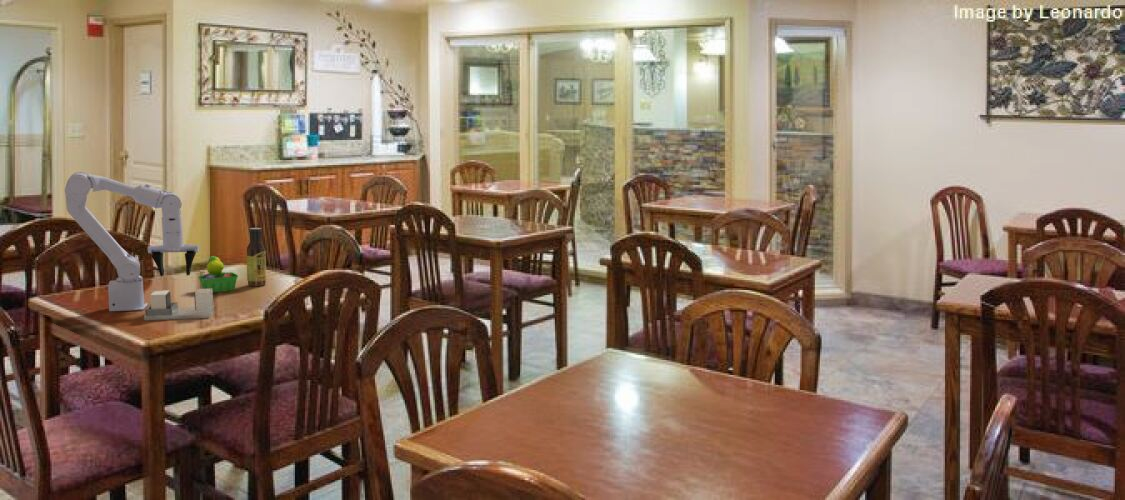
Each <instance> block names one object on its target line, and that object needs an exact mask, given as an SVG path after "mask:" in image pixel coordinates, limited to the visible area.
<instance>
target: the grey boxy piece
mask: <svg viewBox="0 0 1125 500" xmlns="http://www.w3.org/2000/svg"><path fill="white" fill-rule="evenodd" d="M213 293H214V292H213V289H203V288H198V289H197V290H196V291H195V292H194V306H191V307H185V306H184V307H178V302H177V301H175V302H171V308H170V309H151V303H150V304H149V305H148V307H147V308H146V309H145V310H144V312H145V315H143V321H162V320H163V321H164V320H188V319H189V320H190V319H195V320H196V319H210V318H211V317H212V316H213V314H214V312H215V311H216V310H215V306H214V294H213Z"/></svg>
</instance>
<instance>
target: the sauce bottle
mask: <svg viewBox="0 0 1125 500" xmlns="http://www.w3.org/2000/svg"><path fill="white" fill-rule="evenodd" d="M248 231H249V241H250V242H249V243H248V244H247V247H246V277H247V278H246V281H247V285H248V286H249V287H262V286H265V285H266V284H267V260H266V259H267V257H266V255H267V254H266V252H267V251H266V249H265V246H264V244H263V241H262V231H263V230H262V228H261V227H250V228H249V229H248Z"/></svg>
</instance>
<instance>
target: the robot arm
mask: <svg viewBox="0 0 1125 500" xmlns="http://www.w3.org/2000/svg"><path fill="white" fill-rule="evenodd" d="M91 189H92V192H93V193H94V192H99V191H108V192H111V193H115V194H119V195H124V196H127V197H132V199H133V200H134V202H135V203H137V204H140V205H142V206H143V205H144V206H146V207H147V206H148V207H150V208H154V209H159V208H160V209H161V214H162V215H161V216H162V217H161V231H162V245H161V244H160V245H149V246H147V253H148V254H151V255H150V257H151V258H152V261H154V263H155V265H156V267H157V270H158V272H159V276H160V277H163V276H164V275H165V270H164V269H165V268H164V253H184V257H185V273H186V274H185V275H186V276H190V275H191V271H192V270H191V269H192V264H193V261H194V259H195V256H196V254H197V253H198V252H199V251H200V245H199V244H184V234H183V218H182V216H181V215H182V210H181V208H182V201H181V198H180V196H178V194H176V193H174V192H172V191H168V190H167V189H162V190H161V189H158V188H156V187H155V188H154V187H151V184H149V183H145V184H139V185H137V186H134V185H131V184H127V183H125V182H120V181H117V180H115V179H111V178H109V177H106V176H104V175H103V176H102V175H98V174H93V173H89V174H87V172H82V171H77V172H75V173H73V174H71V175H70V177H69V178H68V179H67V180H66V183H65V187H64V195H65V205H66V207H65V208H66V212H67V213H68V214H69V215H70V216H71V218H72V219H73V220H74V221H75V222H76V223H77V224H78V225H79V226H80V228H81V229H82V230H83V231H84V233H86V235H88V236H89V238H90V239H91V240H92V241H93V242H94V243H95V244H96V245H97V247H99V249H100V250H101V251H102V252H103V253H104V254H105V255H106V257H107V258H108V259H109V261H110V262H111V264H112V265H113V267H114V268H115V269H116V273H117V275H118V277H116V278H115V280H110V281H109V282H108V286H107V287H108V289H107V290H108V291H107V292H108V293H107V294H108V305H109V306H108V311H109V312H123V311H124V312H125V311H130V312H131V311H143V310H144V309H145V308H146V307H147V306H149V304H148V302H145V296H144V284H143V283H144V282H143V281H144V280H143V276H141V275H140V274H141V262H140V260H139V259H138V258H137V257H135V256H134V255H130V254H129V253H128V252H127V251H126V250H125V249H124V248H123V247H122V245H120V244H119V243H118V242H117V240H116V239H115V238H114V237H113V236H112V235H111V234H110V232H108V230H107V229H106V228H105V227H104V226H103V225H102V223H101V222H100V221H99V220H98V219H97V218H96V216H94V214H93V213H92V212H91V211H90V210H89V209H88V208H87V206H86V205H87V199H88V194H89V192H90V191H91Z"/></svg>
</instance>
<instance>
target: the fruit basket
mask: <svg viewBox="0 0 1125 500" xmlns="http://www.w3.org/2000/svg"><path fill="white" fill-rule="evenodd" d="M224 268H225V266H224V263H223V262H222V261H221V259H220V258H219V257H217V256H215V255H212V256H210V257H209V259H208V264H207V265H206V271H207V273H206V274H201V275H197V278H198V280H199V282H200V284H201V285H200V286H201V289H213V293H218V292H228V291H235V289H236V284H237V279H238V276H239V274H236V273H235V272H231V271H228V272H224V271H223V270H224Z"/></svg>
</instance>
